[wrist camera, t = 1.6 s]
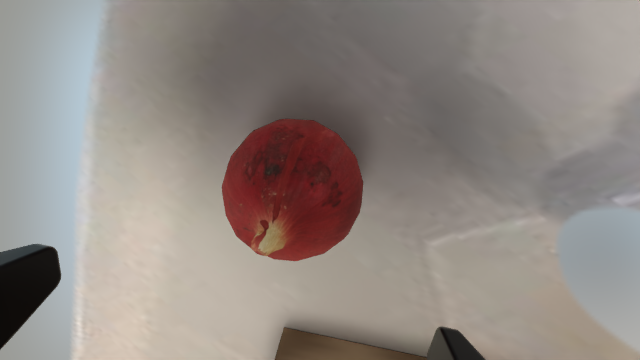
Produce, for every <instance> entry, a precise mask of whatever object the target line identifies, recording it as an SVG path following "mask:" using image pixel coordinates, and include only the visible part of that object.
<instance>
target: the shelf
mask: <svg viewBox="0 0 640 360" xmlns="http://www.w3.org/2000/svg"><path fill="white" fill-rule="evenodd" d="M275 360H427V358H425V357H421V356H416V355H411V354H407V353H402V352H397V351H392V350H388V349H383V348H378V347H373V346H369V345H364V344H359V343H354V342H350V341H345V340H340V339H336V338H331V337H326V336H321V335H317V334H312V333H307V332H302V331H298V330H293V329H288V328H284V329H283V333H282V336H281V340H280V343H279V347H278V350H277V354H276V357H275Z"/></svg>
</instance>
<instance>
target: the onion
mask: <svg viewBox="0 0 640 360" xmlns="http://www.w3.org/2000/svg"><path fill="white" fill-rule="evenodd" d="M362 191H363V180H362V176H361V173H360V169H359V166H358V162H357V158H356V157H355V155H354V154H353V152H352V151H351V150H350V149H349V147H348V146H347V145H346V144H345V142H344V141H343V140H342V138H341V137H340V136H339V135H338V134H337V133H335V132H333V131H332V130H330V129H328V128H326V127H325V126H323V125H321V124H319V123H317V122H316V121H314V120H298V119H280V120H277V121H275V122H272V123H270V124H268V125H265V126H263V127H261V128H258V129H256V130H254V131H253V132H252V133H251V134H249V135H248V136H247V138H246V139H245V140H244V141H243V142H242V144H241V145H240V146H239V147H238V149H237V150H236V151H235V152H234V153H233V155H232V156H231V158H230V161H229V163H228V167H227V170H226V174H225V177H224V181H223V184H222V194H223V200H224V206H225V212H226V216H227V218H228V220H229V222H230V224H231V226H232V228H233V230H234V232H235V234H236V236H237V237H238V238H239V239H240V240H242V241H243V242H244V243H245V244H247V245H248V246H249V247H250V248H251V249H252V250H254V251H255V252H256V253H257V254H260V255H263V256H268V257H270V258H273V259H278V260H289V261H299V260H302V259H306V258H309V257H313V256H316V255H320V254H324V253H325V252H327V251H328V250H329V249H331V248H332V247H333V246H335V245H336V244H338V243H339V242H340V241H342V240H343V239H344V238H345V237H346V236H347V235H348V233H349V232H350V230H351V228H352V226H353V224H354V222H355V220H356V218H357V216H358V215H359V213H360V209H361V203H362Z"/></svg>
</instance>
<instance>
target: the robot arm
mask: <svg viewBox="0 0 640 360" xmlns="http://www.w3.org/2000/svg"><path fill="white" fill-rule="evenodd" d="M60 280H61V271H60V265H59V258H58V253H57V251H56V249H55V248H53V247H51V246H46V245H41V244H32V245H28V246H24V247H20V248H16V249H12V250H8V251H3V252H0V349H1V348H2V347H3V346H4V345H5V344H6V343H7V342H8V341H9V340H10V339H11V338H12V336H13V335H14V334H15V333H16V332H17V331H18V330H19V329H20V328H21V326H22V325H23V324H24V323H25V322H26V321H27V320H28V318H29V317H30V316H31V315H32V314H33V313H34V312H35V311H36V309H37V308H38V307H39V306H40V305H41V304H42V303H43V302H44V300H45V299H46V298H47V297H48V296H49V295H50V294H51V292H52V291H53V290H54V289H55V288H56V287H57V285H58V284H59V282H60ZM427 360H485V359H484V358H483V356H482V355H481V354H480V353H479V352H478V351H477V350H476V349H475V348H474V347H473V346H472V345H471V343H470V342H469V341H468V340H467V339H466V338H465V337H464V336H463V335H462V334H461V333H460V332H459V331H458V330H456V329H451V328H446V327H438V328H437V330H436V332H435V335H434V337H433V340H432V343H431V346H430V348H429V351H428V355H427Z"/></svg>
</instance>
